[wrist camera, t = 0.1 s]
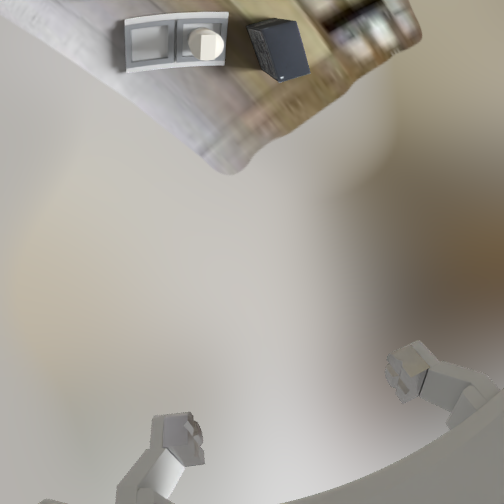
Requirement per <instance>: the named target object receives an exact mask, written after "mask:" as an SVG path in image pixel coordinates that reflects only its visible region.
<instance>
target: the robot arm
mask: <svg viewBox="0 0 504 504" xmlns="http://www.w3.org/2000/svg"><path fill="white" fill-rule="evenodd" d="M387 361H388V362H389V363H388V365H387V366H386V368H385V376H386V379H387V381H388V383H389V385H390V386H391V387H393V388H396V395H397V396H398V398H399V399H400V401H401V402H402V403H403V404H404V403H406V402H408V401H410V400H412V399H414V398H416V397H418V396H419V397H420V398H422V399H424V400H426V401H429V402H431V403H432V404H435V405H437V406H439V407H441V408H443V409H445V410H447V411H449V412H451V414H450V416H449V418H448V419H447V421H446V425H447V426H448V427H449V429H450V431H448V432H447V433H445V434H444V435H442V436H441V437H439V438H438V439H436V440H434V441H433V442H431V443H429V444H428V445H426V446H425V447H423V448H421V449H419V450H418V451H416V452H414V453H412V454H410V455H409V456H407V457H405V458H403V459H401V460H399V461H397V462H395V463H393V464H391V465H389V466H387V467H385V468H383V469H381V470H379V471H376V472H374V473H372V474H370V475H367V476H365V477H363V478H360V479H358V480H355V481H353V482H350V483H347V484H345V485H342V486H339V487H337V488H334V489H331V490H328V491H325V492H322V493H318V494H315V495H312V496H308V497H305V498H301V499H298V500H294V501H290V502H285V503H281V504H504V388H503V389H502V390H500V389H499V388H498V387H497V386H496V384H494V382H493V381H492V380H491V379H490V378H489V377H488V376H487V375H486V374H485V373H482V372H479V371H475V370H472V369H468V368H465V367H462V366H458V365H455V364H451V363H448V362H445V361H442V362H440V361H439V360H438V359H437V358H436V357H435V356H434V355H433V354H432V353H431V352H430V351H429V349H428V348H426V346H425V345H424V344H423V343H422V342H421V341H419V340H417V341H415V342H413V343H411V344H409V345H406V346H404V347H402V348H400V349H398V350H396V351H394V352H391V353H389V354H388V356H387ZM202 443H203V436H202V431H201V428H200V426H199V424H198V423H197V422H196V421H194V420H193V415H192V414H191V412H185V413H176V414H167V415H156V416H154V417H153V419H152V427H151V439H150V449H146V450H145V452H144V453H143V454H142V455H141V457H140V458H139V459H138V461H137V462H136V463H135V464H134V466H133V467H132V468H131V469H130V471H129V472H128V473H127V475H126V476H125V477H124V478H123V479H122V481H121V482H120V483H119V484H118V485H117V492H116V503H115V504H174V503H172V502H171V501H169V500H168V498H169V496H170V494H171V493H172V491H173V489H174V487H175V485H176V484H177V482H178V480H179V478H180V476H181V475H182V473H183V471H184V469H185V467H187V466H196V465H203V464H205V461H204V451H203V449H202V448H201V447H200V446H201V444H202ZM38 504H66V503H62V502H58V501H55V500H50V499H45V500H43V501H41V502H40V503H38Z"/></svg>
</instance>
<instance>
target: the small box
mask: <svg viewBox="0 0 504 504" xmlns="http://www.w3.org/2000/svg"><path fill="white" fill-rule="evenodd" d="M246 28H247V30H248V33H249V36H250V38H251V42H252V44H253V47H254V50H255V53H256V56H257V58H258V61H259V64H260V66H261V70H263V71H264V72H266V73H267V74H269V75H270V76H271V77H273V78H274V79H275V80H277V81H278V82H279V83H281V82H284V81H287V80H290V79H293V78H297V77H300V76H304V75H307V74H310V69H309V65H308V62H307V58H306V54H305V50H304V47H303V43H302V40H301V36H300V33H299V29H298V26H297V22H296V21H291V20H284V19H277V18H274V19H269V20H265V21H262V22H258V23H254V24H251V25H248V26H246Z"/></svg>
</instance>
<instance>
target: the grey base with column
mask: <svg viewBox="0 0 504 504" xmlns="http://www.w3.org/2000/svg"><path fill="white" fill-rule="evenodd" d="M228 14H229V12H187V13H171V14H160V15H151V16H143V17H136V18H130V19H125V56H126V73H133V72H139V71H147V70H155V69H164V68H175V67H189V66H216V65H224V63H225V50H226V37H227V26H228Z"/></svg>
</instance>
